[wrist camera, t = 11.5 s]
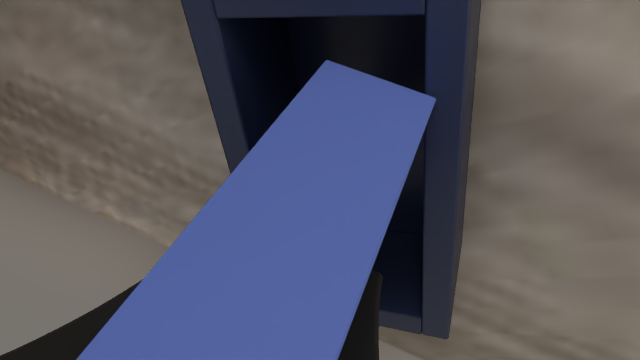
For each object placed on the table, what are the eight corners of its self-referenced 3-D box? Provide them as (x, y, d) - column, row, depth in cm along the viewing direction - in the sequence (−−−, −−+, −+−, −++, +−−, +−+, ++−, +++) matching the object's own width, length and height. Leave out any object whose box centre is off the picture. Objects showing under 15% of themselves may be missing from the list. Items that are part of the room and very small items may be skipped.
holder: (307, 224, 21) (267, 302, 18) (256, -59, 14) (174, -18, 11) (461, 246, 19) (448, 340, 16) (487, -77, 12) (473, -33, 9)
